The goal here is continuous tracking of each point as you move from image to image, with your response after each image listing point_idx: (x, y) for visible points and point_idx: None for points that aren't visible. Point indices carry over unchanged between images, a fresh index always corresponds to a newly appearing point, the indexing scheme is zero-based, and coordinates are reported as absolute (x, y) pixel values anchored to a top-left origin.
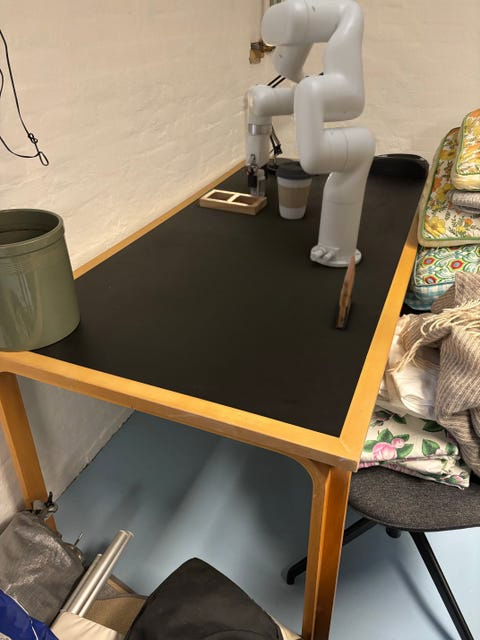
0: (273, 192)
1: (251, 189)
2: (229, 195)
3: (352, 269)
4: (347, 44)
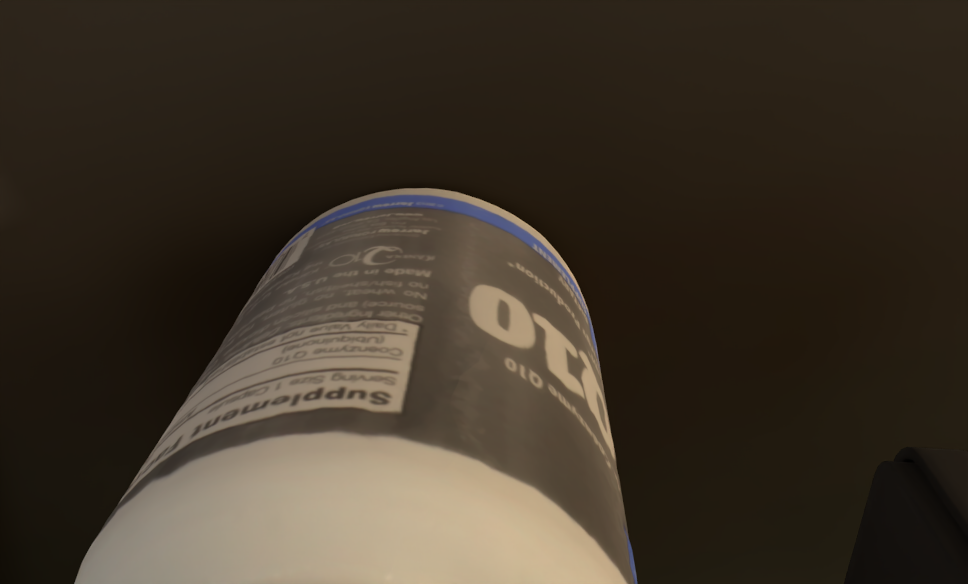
0: (761, 568)
1: (242, 313)
2: None
3: None
4: None
